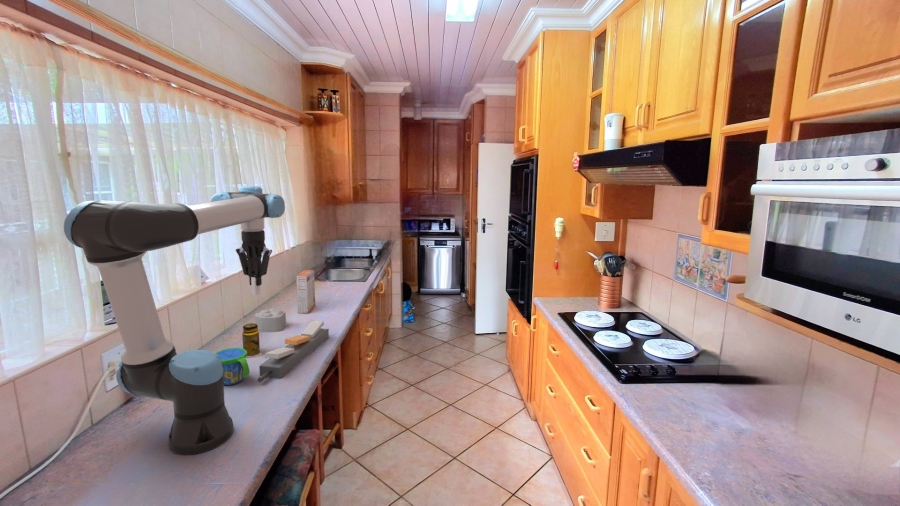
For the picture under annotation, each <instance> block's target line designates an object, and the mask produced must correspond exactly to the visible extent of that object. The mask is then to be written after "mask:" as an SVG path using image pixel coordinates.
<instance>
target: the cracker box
mask: <svg viewBox="0 0 900 506" xmlns="http://www.w3.org/2000/svg"><path fill="white" fill-rule="evenodd" d="M295 277H296V278H295V279H296V298H297V301H296V302H297V313H298V314H309V313H310V312H311V311H312V310H313V309H314V308H315V307H316V291H315V290H316V289H315V288H316V287H315V269H304V270H302V271H301V272H300V273H298V274H297V275H296V276H295Z"/></svg>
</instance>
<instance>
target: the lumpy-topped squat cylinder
mask: <svg viewBox="0 0 900 506" xmlns="http://www.w3.org/2000/svg"><path fill="white" fill-rule="evenodd" d="M286 316H287V315H286V311H284V310H282V309H276V308H270V309H263V310H261V311H260V312H256V313H255V314H254V324H257V325H258V331H259V333H278V332H282V331H283V330H284V329H285V328H286V326H287V322H286V321H287V317H286Z"/></svg>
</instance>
